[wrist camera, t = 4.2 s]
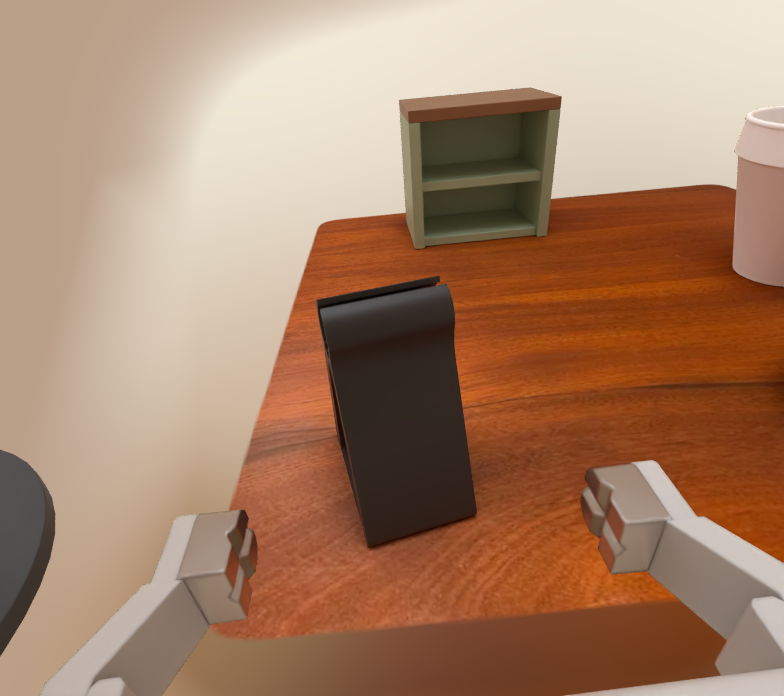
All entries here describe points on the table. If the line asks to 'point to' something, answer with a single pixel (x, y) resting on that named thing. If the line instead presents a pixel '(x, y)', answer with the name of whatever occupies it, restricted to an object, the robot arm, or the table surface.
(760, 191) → the cup
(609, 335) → the table surface
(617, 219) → the table surface
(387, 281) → the table surface
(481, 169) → the shelf
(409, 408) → the phone stand
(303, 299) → the table surface
